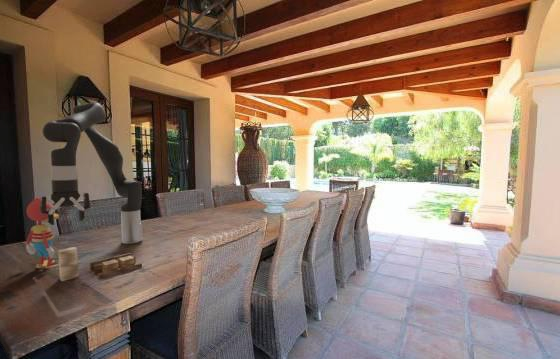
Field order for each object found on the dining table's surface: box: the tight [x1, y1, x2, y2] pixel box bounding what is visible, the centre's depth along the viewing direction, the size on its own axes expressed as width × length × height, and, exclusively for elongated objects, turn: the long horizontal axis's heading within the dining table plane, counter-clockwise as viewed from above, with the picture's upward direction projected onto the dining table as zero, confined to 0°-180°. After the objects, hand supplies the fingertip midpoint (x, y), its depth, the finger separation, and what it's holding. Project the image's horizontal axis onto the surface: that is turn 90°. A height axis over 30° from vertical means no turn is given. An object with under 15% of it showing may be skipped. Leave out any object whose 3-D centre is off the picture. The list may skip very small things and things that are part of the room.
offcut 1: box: [102, 259, 119, 273], centre depth 109 cm, size 4×4×4 cm
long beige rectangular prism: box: [57, 246, 79, 282], centre depth 103 cm, size 5×3×11 cm, turn 140°
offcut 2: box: [119, 255, 135, 268], centre depth 113 cm, size 4×4×4 cm
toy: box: [25, 196, 60, 269], centre depth 114 cm, size 15×10×30 cm
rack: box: [88, 252, 144, 280], centre depth 113 cm, size 16×13×4 cm
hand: (66, 222), depth 102 cm, fingers open, 8 cm apart
